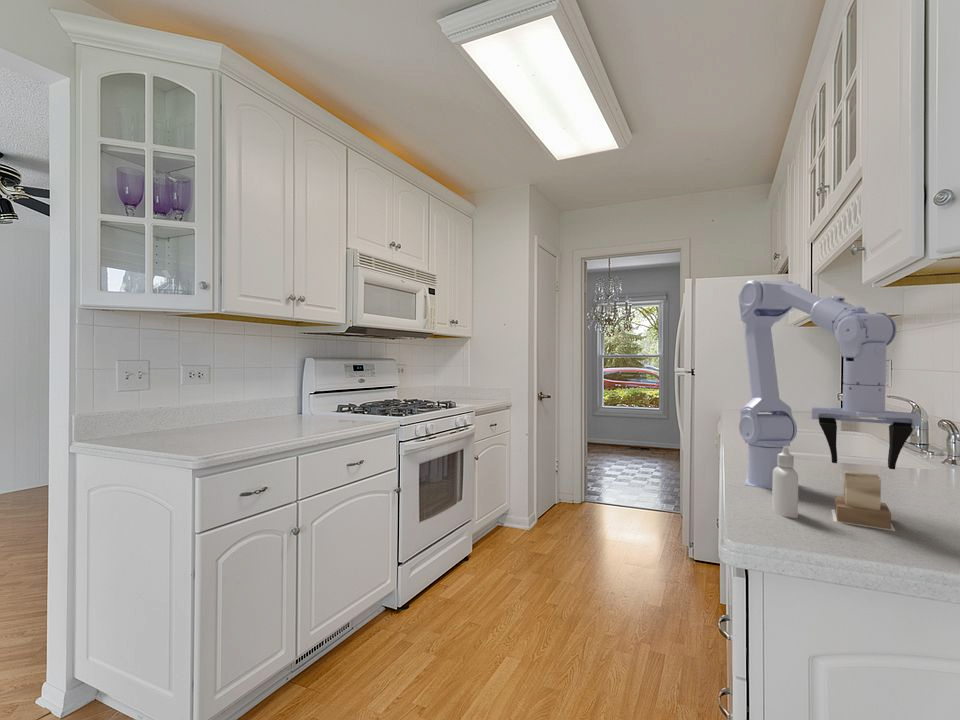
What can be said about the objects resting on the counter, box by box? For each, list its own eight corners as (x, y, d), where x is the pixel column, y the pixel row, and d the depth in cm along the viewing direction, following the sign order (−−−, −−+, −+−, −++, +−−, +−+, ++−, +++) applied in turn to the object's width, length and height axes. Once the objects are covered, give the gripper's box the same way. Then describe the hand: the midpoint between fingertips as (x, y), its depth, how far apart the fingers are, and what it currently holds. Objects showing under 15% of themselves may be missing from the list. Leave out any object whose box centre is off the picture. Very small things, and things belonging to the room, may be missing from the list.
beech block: (843, 499, 88) (844, 470, 88) (876, 503, 86) (876, 474, 86) (846, 505, 84) (846, 475, 84) (880, 510, 82) (880, 479, 82)
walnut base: (835, 510, 90) (835, 496, 90) (885, 517, 86) (885, 503, 86) (837, 521, 84) (837, 506, 84) (890, 529, 80) (891, 513, 80)
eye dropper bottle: (801, 514, 89) (803, 446, 89) (796, 521, 85) (797, 450, 85) (773, 509, 92) (774, 443, 92) (766, 516, 88) (768, 447, 88)
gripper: (812, 383, 85) (810, 463, 85) (925, 387, 77) (923, 475, 78) (812, 382, 91) (810, 456, 91) (917, 385, 83) (915, 467, 83)
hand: (862, 465), depth 85 cm, fingers open, 7 cm apart
